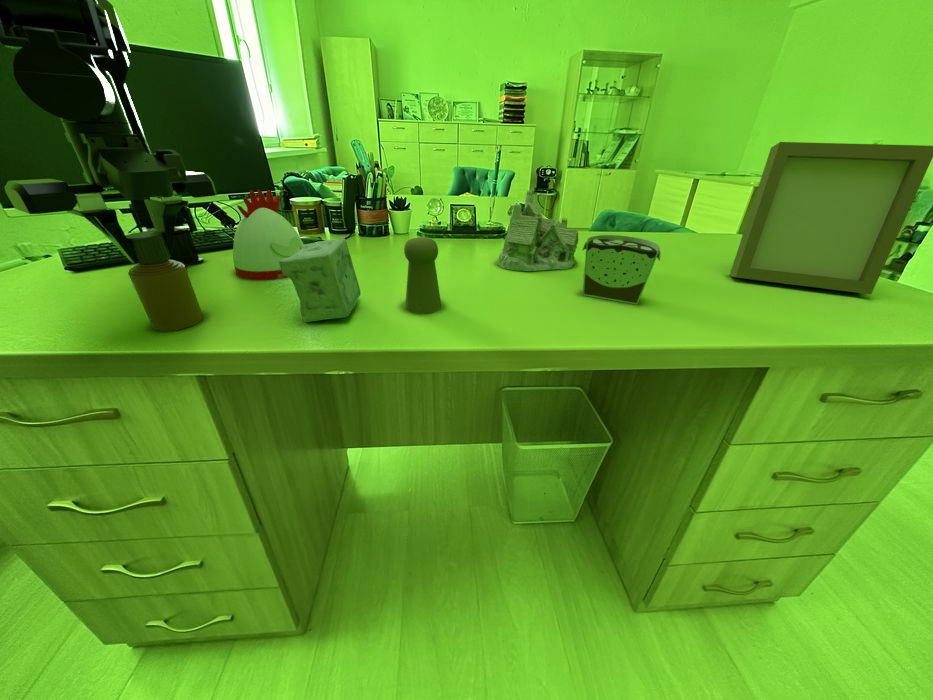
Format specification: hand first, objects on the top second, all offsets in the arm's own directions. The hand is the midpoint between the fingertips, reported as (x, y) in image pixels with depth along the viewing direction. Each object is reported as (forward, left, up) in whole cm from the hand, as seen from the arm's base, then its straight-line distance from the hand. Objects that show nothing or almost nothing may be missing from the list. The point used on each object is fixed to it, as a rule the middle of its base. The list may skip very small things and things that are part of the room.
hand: (152, 259), depth 49 cm
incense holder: (-15, +15, -10) cm, 23 cm away
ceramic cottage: (-59, +32, -10) cm, 68 cm away
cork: (-25, +26, -10) cm, 37 cm away
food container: (-49, +51, -10) cm, 71 cm away
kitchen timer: (-23, -11, -10) cm, 27 cm away
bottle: (0, 0, -9) cm, 9 cm away
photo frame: (-80, +80, -10) cm, 114 cm away
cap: (0, 0, 0) cm, 0 cm away
